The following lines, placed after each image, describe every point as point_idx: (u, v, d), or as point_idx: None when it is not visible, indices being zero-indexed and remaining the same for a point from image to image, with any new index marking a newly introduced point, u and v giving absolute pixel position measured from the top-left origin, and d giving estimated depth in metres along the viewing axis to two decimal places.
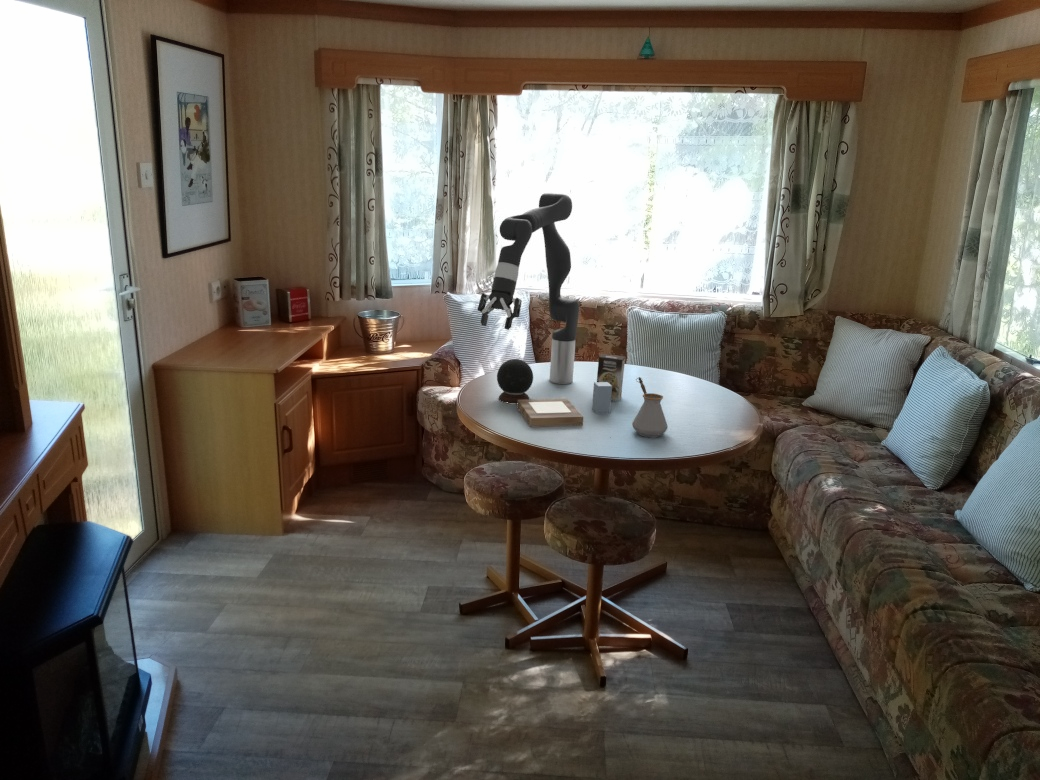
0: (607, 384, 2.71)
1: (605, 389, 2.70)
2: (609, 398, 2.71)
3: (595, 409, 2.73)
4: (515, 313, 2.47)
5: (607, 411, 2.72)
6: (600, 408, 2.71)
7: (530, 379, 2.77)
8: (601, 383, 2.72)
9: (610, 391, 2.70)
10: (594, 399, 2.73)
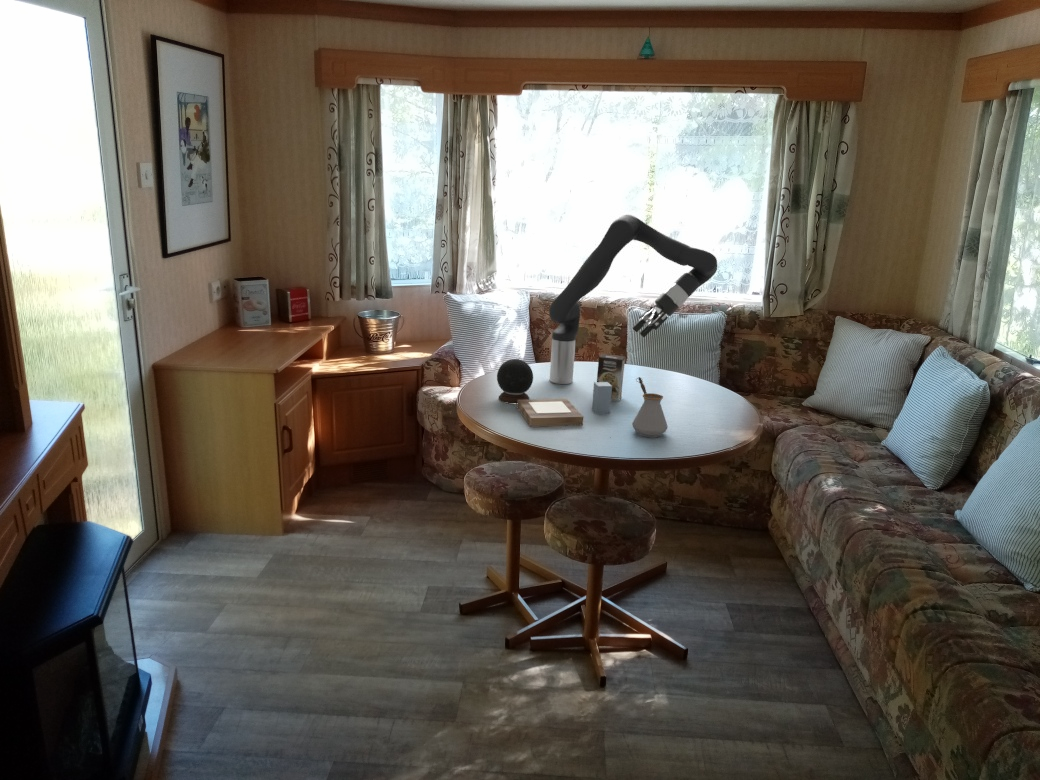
0: (607, 384, 2.71)
1: (605, 389, 2.70)
2: (609, 398, 2.71)
3: (595, 409, 2.73)
4: None
5: (607, 411, 2.72)
6: (600, 408, 2.71)
7: (530, 379, 2.77)
8: (601, 383, 2.72)
9: (610, 391, 2.70)
10: (594, 399, 2.73)
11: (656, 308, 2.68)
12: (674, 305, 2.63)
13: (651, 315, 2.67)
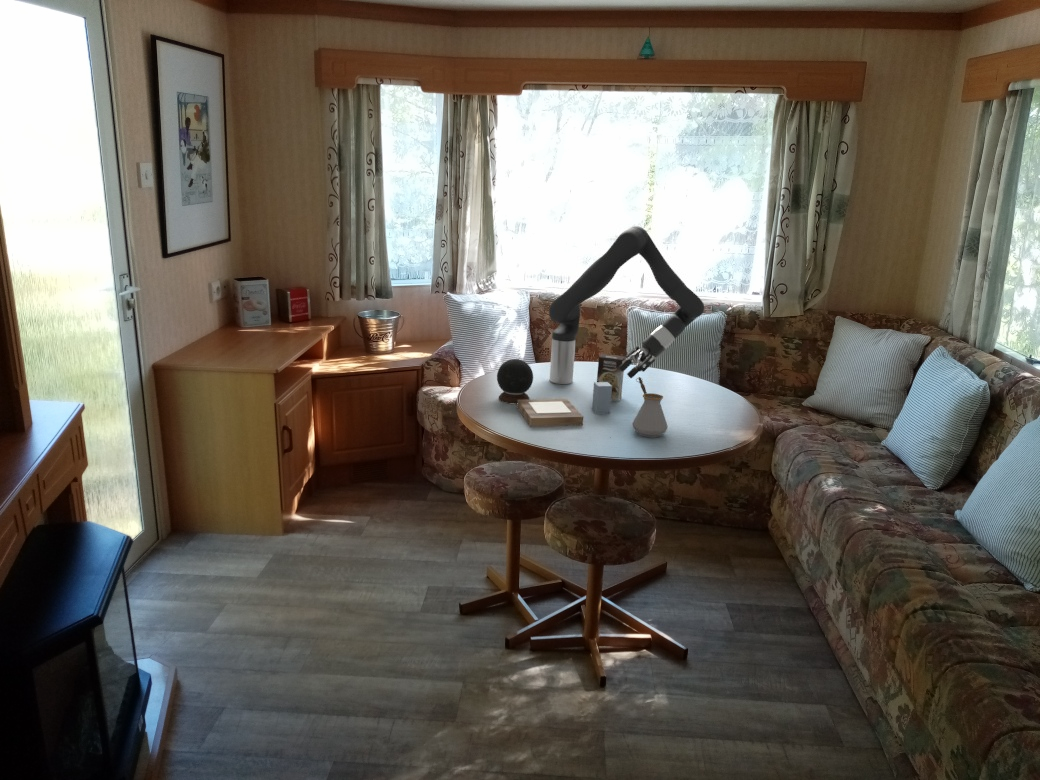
0: (607, 384, 2.71)
1: (605, 389, 2.70)
2: (609, 398, 2.71)
3: (595, 409, 2.73)
4: None
5: (607, 411, 2.72)
6: (600, 408, 2.71)
7: (530, 379, 2.77)
8: (601, 383, 2.72)
9: (610, 391, 2.70)
10: (594, 399, 2.73)
11: (643, 349, 2.73)
12: (661, 347, 2.69)
13: (638, 356, 2.71)
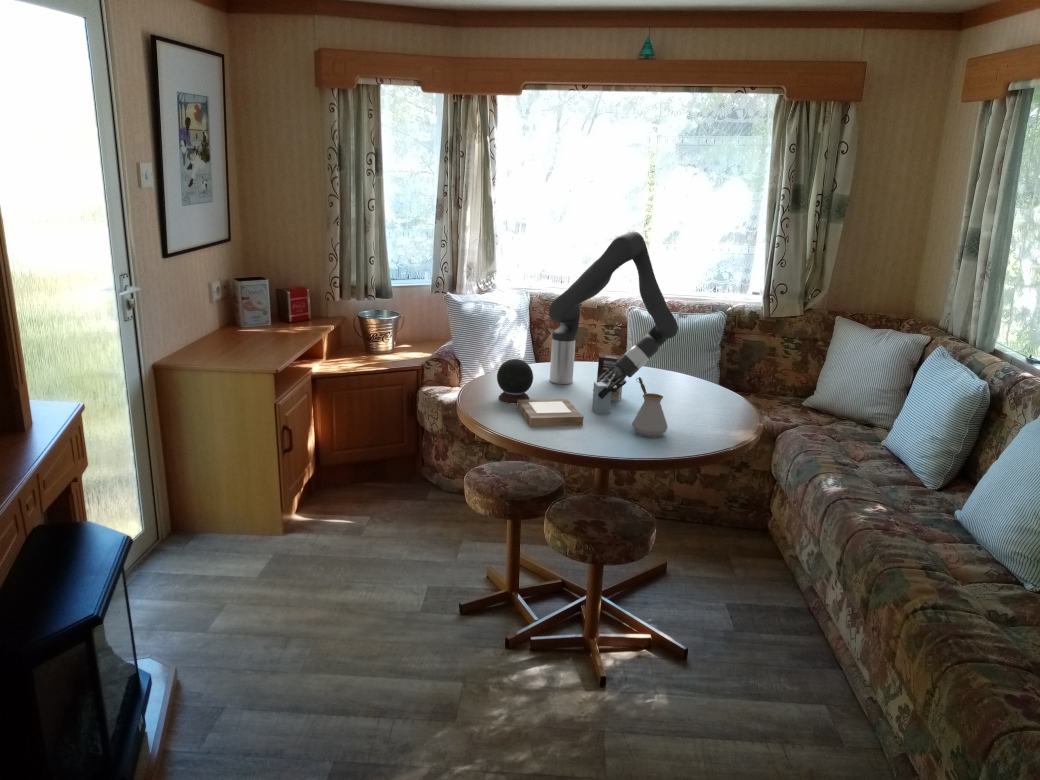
0: (607, 384, 2.71)
1: None
2: (609, 398, 2.71)
3: (595, 409, 2.73)
4: None
5: (607, 411, 2.72)
6: (600, 408, 2.71)
7: (530, 379, 2.77)
8: (601, 383, 2.72)
9: None
10: (594, 399, 2.73)
11: (617, 369, 2.73)
12: (635, 367, 2.68)
13: (612, 376, 2.71)
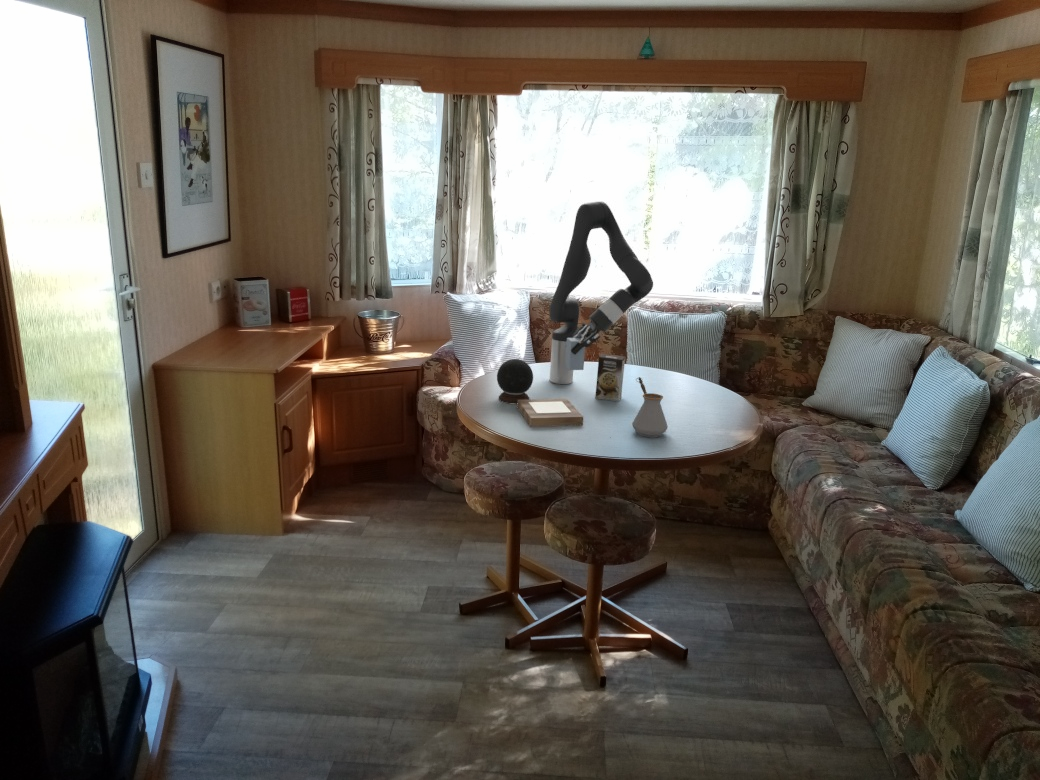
0: (580, 339, 2.61)
1: None
2: (582, 354, 2.61)
3: (568, 366, 2.63)
4: None
5: (580, 368, 2.62)
6: (574, 365, 2.62)
7: (530, 379, 2.77)
8: (574, 338, 2.62)
9: None
10: (567, 355, 2.63)
11: (590, 324, 2.63)
12: (609, 322, 2.59)
13: None
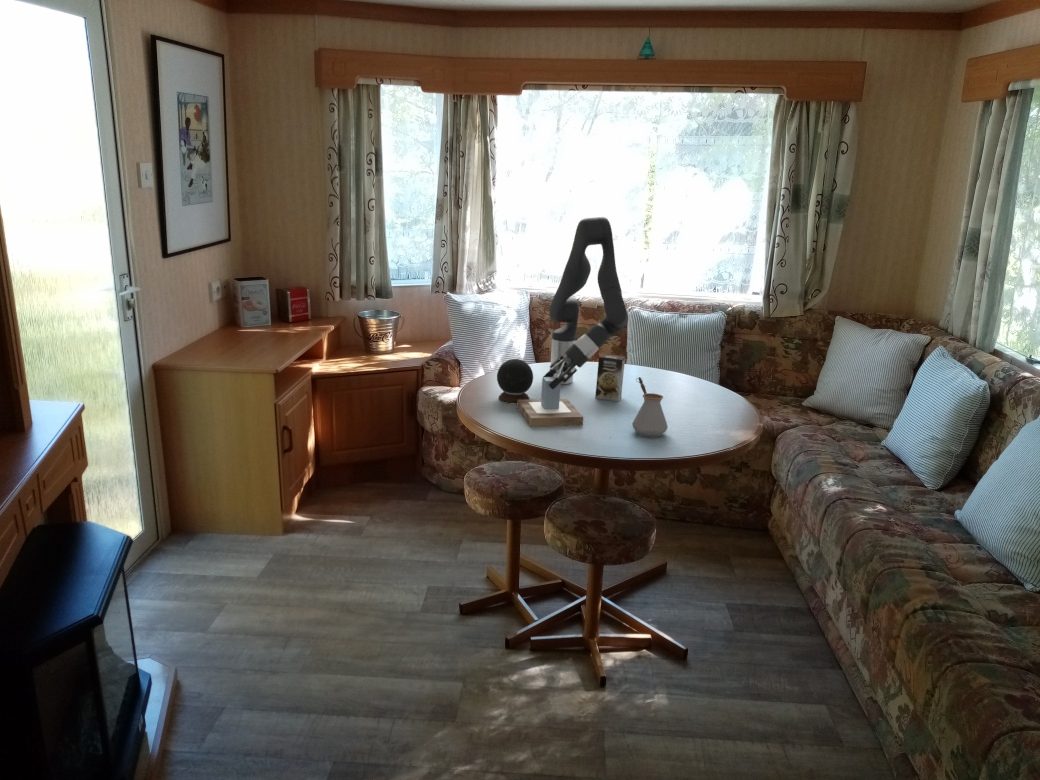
0: None
1: None
2: (558, 393, 2.62)
3: (543, 405, 2.64)
4: None
5: (556, 407, 2.63)
6: (549, 404, 2.62)
7: (530, 379, 2.77)
8: (549, 378, 2.63)
9: (559, 386, 2.61)
10: (543, 394, 2.64)
11: (566, 359, 2.63)
12: (584, 357, 2.59)
13: (561, 366, 2.62)
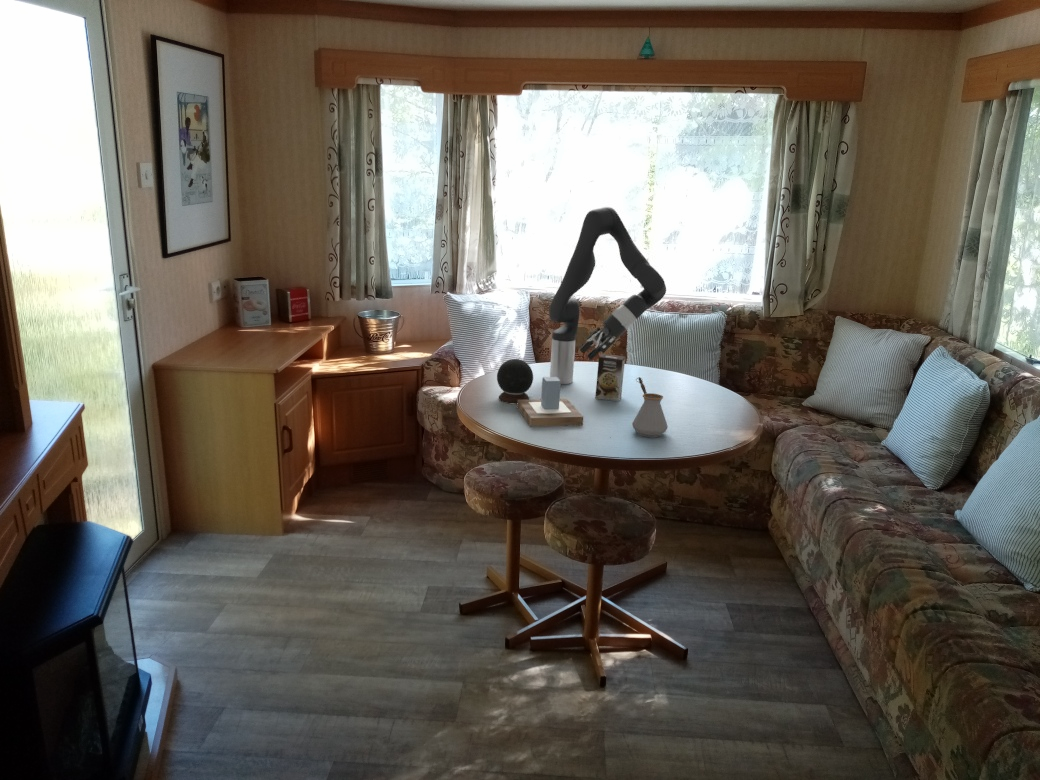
0: (556, 379, 2.62)
1: (554, 384, 2.61)
2: (558, 393, 2.62)
3: (543, 405, 2.64)
4: None
5: (556, 407, 2.63)
6: (549, 404, 2.62)
7: (530, 379, 2.77)
8: (549, 378, 2.63)
9: (559, 386, 2.61)
10: (543, 394, 2.64)
11: (603, 330, 2.63)
12: (622, 327, 2.59)
13: (598, 337, 2.62)
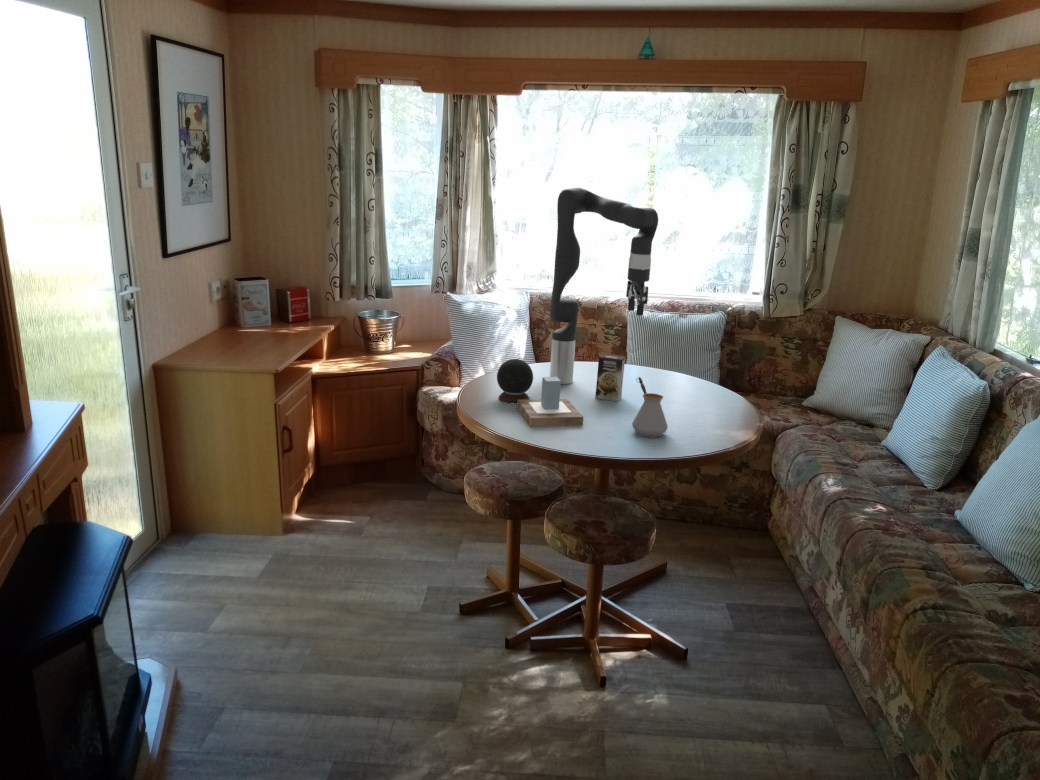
0: (556, 379, 2.62)
1: (554, 384, 2.61)
2: (558, 393, 2.62)
3: (543, 405, 2.64)
4: None
5: (556, 407, 2.63)
6: (549, 404, 2.62)
7: (530, 379, 2.77)
8: (549, 378, 2.63)
9: (559, 386, 2.61)
10: (543, 394, 2.64)
11: (633, 282, 2.71)
12: (645, 271, 2.65)
13: (634, 291, 2.70)
